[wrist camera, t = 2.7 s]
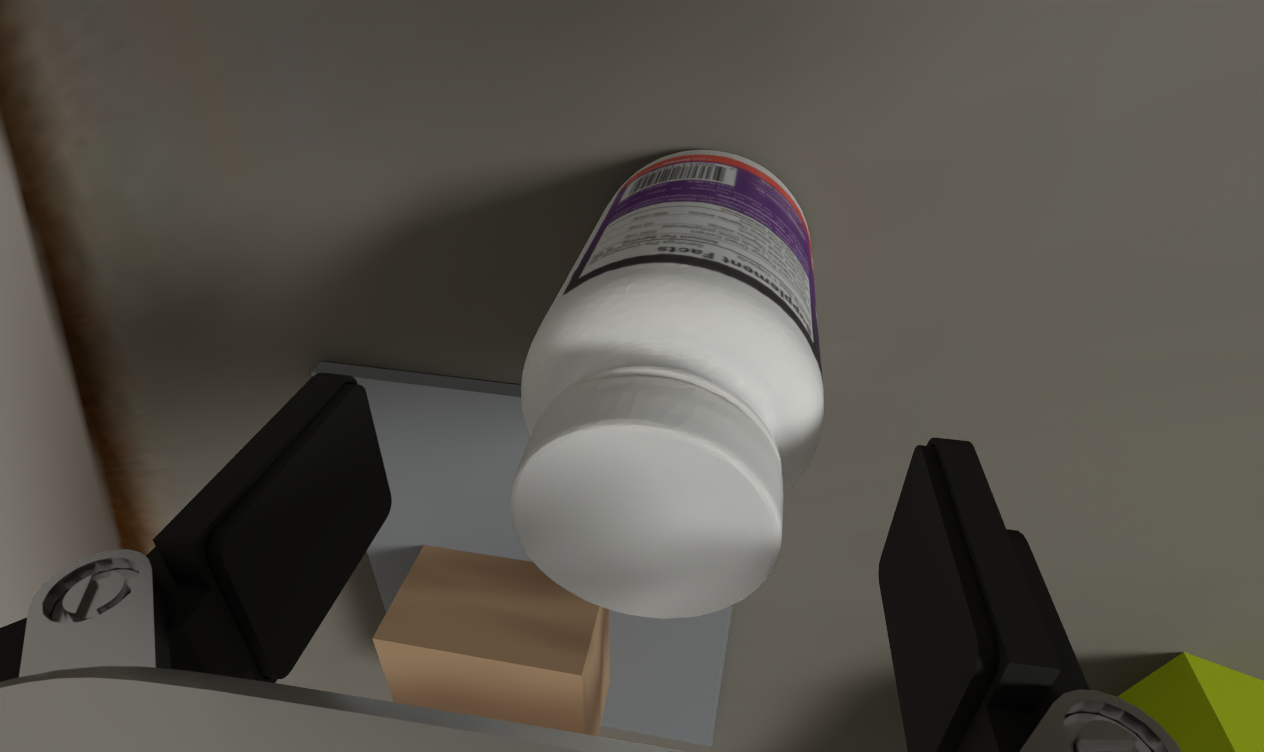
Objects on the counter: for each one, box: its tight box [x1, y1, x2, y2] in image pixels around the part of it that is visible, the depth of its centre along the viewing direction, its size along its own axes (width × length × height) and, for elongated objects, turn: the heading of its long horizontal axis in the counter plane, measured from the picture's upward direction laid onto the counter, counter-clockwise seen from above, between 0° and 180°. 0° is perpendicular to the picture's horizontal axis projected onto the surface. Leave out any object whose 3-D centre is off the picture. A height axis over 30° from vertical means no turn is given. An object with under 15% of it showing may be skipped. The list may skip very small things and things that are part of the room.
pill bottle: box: [510, 150, 824, 619], centre depth 14 cm, size 5×5×10 cm
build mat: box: [311, 362, 733, 747], centre depth 26 cm, size 18×14×1 cm
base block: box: [372, 545, 610, 736], centre depth 26 cm, size 7×7×4 cm
